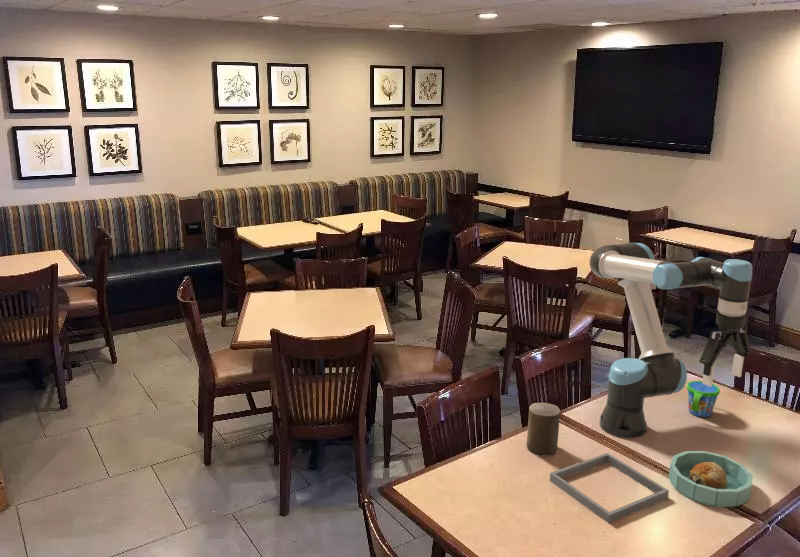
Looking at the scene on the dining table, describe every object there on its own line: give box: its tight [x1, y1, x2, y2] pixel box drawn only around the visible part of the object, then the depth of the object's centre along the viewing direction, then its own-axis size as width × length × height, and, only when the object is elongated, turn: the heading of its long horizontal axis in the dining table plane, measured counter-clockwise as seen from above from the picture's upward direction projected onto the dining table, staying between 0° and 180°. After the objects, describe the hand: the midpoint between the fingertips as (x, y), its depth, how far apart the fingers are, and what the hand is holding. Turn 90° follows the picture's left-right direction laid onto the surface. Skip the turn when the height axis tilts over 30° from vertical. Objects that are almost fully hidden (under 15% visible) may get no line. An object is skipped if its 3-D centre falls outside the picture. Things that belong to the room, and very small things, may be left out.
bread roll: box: [689, 462, 728, 489], centre depth 191 cm, size 10×10×8 cm
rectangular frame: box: [549, 452, 670, 524], centre depth 190 cm, size 23×23×2 cm
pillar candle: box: [526, 402, 561, 456], centre depth 210 cm, size 10×10×15 cm
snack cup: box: [686, 380, 721, 418], centre depth 234 cm, size 16×10×10 cm
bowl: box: [668, 450, 754, 508], centre depth 191 cm, size 21×21×5 cm
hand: (721, 380), depth 198 cm, fingers open, 13 cm apart
